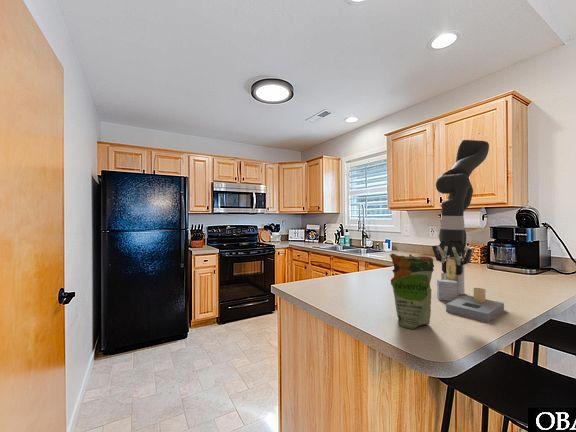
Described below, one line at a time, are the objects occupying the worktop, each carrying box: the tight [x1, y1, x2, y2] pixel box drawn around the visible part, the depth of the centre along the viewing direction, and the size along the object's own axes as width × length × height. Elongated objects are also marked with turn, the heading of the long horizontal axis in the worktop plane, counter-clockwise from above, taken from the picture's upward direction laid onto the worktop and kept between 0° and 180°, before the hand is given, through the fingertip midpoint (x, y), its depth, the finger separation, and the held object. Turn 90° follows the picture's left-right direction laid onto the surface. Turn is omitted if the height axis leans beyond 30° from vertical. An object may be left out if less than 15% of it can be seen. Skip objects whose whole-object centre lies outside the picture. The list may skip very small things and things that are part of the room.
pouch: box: [389, 253, 435, 330], centre depth 94 cm, size 11×12×25 cm
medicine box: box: [436, 279, 460, 302], centre depth 122 cm, size 8×4×9 cm, turn 71°
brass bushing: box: [446, 257, 458, 281], centre depth 99 cm, size 4×4×8 cm
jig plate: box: [445, 287, 505, 323], centre depth 108 cm, size 14×20×8 cm
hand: (452, 273), depth 99 cm, fingers closed on brass bushing, 4 cm apart
